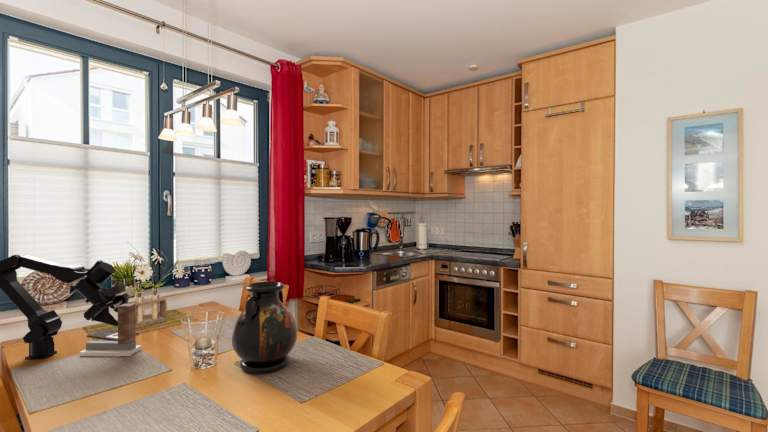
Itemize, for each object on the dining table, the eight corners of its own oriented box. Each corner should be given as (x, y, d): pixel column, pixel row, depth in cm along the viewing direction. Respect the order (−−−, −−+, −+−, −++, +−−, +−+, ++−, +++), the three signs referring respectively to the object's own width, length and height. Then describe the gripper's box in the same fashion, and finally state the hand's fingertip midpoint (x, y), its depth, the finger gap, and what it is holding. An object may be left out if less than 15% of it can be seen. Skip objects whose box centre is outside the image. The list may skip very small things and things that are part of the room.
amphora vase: (272, 383, 116) (272, 293, 115) (217, 373, 123) (217, 288, 122) (308, 357, 136) (308, 281, 136) (259, 349, 143) (259, 277, 143)
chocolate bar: (108, 328, 165) (138, 333, 160) (108, 330, 165) (138, 335, 160) (86, 335, 157) (118, 340, 151) (86, 337, 157) (118, 342, 151)
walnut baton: (117, 344, 137) (117, 306, 137) (124, 340, 141) (123, 303, 141) (129, 343, 137) (129, 306, 137) (135, 340, 141) (135, 303, 141)
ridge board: (79, 356, 136) (79, 345, 136) (94, 348, 143) (94, 338, 143) (128, 356, 136) (128, 345, 136) (141, 349, 143) (141, 338, 143)
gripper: (93, 281, 129) (127, 312, 130) (124, 272, 147) (153, 299, 149) (68, 304, 128) (102, 335, 130) (102, 292, 147) (132, 319, 148)
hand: (125, 321), depth 139 cm, fingers open, 9 cm apart
